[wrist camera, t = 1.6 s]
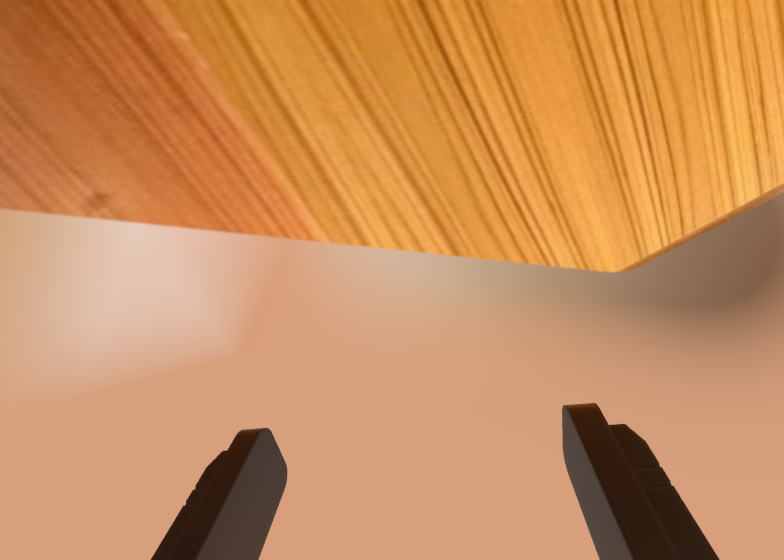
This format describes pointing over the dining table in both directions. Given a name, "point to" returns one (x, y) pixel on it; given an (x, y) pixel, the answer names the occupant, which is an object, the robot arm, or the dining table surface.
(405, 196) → the dining table surface
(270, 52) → the dining table surface
